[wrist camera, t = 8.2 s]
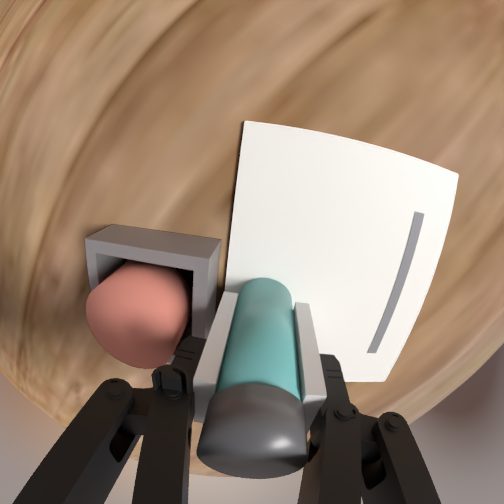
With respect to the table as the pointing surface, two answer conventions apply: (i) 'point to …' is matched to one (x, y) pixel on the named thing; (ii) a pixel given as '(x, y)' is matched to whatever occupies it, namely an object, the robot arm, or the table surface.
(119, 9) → the table surface
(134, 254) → the button housing
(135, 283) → the button
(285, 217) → the paper
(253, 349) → the marker
